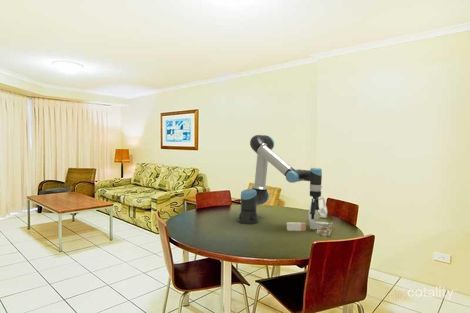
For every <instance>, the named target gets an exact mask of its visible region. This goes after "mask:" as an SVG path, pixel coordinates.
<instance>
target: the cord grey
mask: <svg viewBox="0 0 470 313" xmlns="http://www.w3.org/2000/svg"><path fill="white" fill-rule="evenodd" d="M329 224H330V222H326V221H325V222H324V221H316V220H315V224H311V222H309V229H310V230H316V229H317V230H319V226H322V227H328V226H329ZM317 230H316V231H317Z"/></svg>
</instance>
